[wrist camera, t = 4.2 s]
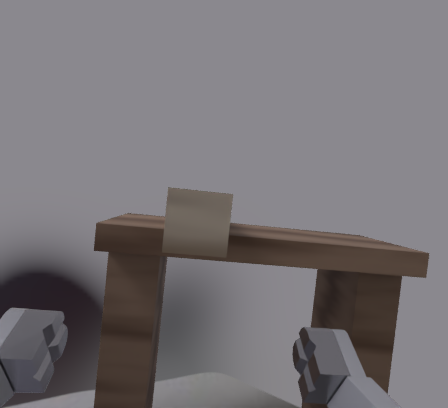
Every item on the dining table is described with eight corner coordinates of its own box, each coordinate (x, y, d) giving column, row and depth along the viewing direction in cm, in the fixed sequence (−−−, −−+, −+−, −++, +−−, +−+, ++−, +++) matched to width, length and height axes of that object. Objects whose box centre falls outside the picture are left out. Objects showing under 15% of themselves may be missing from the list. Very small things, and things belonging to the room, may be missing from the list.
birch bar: (226, 257, 14) (233, 194, 14) (161, 252, 13) (168, 187, 13) (207, 219, 33) (209, 193, 33) (181, 216, 33) (183, 190, 33)
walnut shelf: (390, 561, 24) (429, 253, 23) (63, 572, 21) (96, 223, 21) (333, 453, 34) (359, 235, 33) (105, 451, 31) (128, 213, 31)
